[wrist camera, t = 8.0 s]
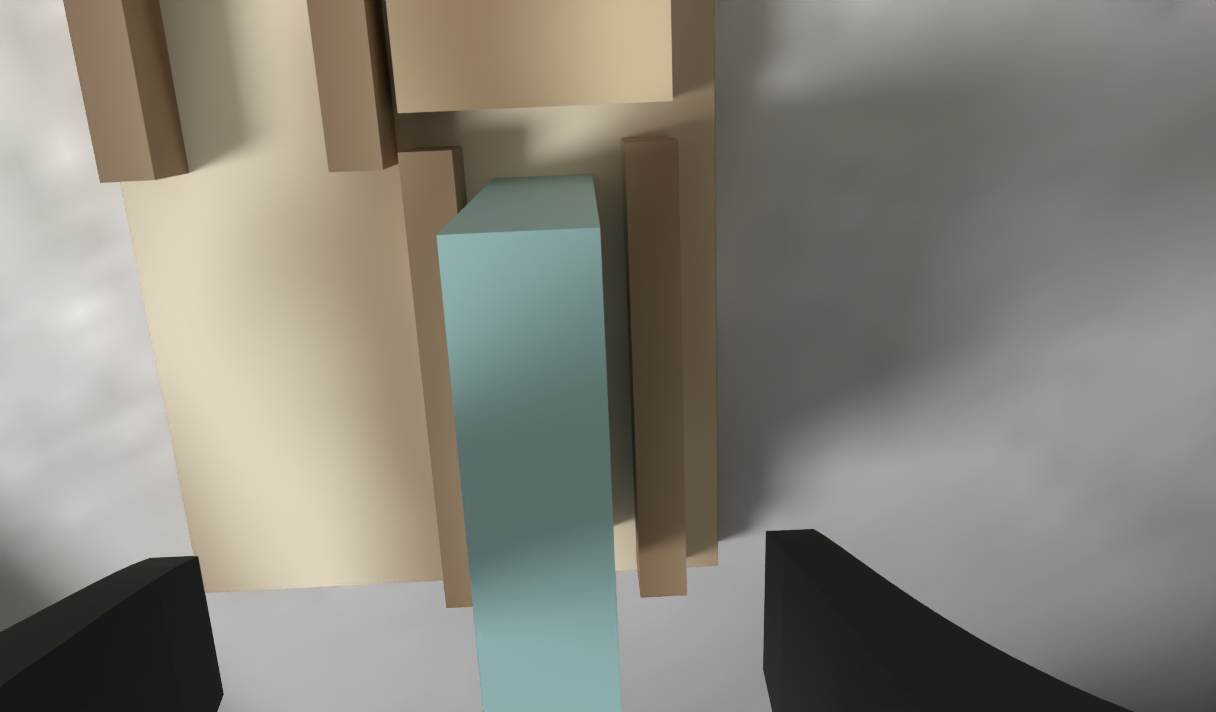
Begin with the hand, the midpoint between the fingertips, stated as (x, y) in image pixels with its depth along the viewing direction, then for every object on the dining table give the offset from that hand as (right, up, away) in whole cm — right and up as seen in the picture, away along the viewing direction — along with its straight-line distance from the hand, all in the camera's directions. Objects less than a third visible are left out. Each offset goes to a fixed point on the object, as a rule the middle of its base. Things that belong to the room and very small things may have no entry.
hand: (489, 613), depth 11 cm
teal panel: (0, +3, +8) cm, 9 cm away
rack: (-2, +7, +8) cm, 11 cm away
